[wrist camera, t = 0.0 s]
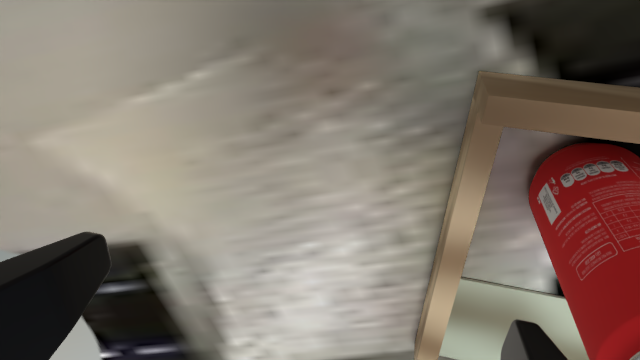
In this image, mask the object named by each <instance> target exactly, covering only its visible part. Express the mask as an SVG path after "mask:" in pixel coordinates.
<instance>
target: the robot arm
mask: <svg viewBox="0 0 640 360" xmlns="http://www.w3.org/2000/svg"><path fill="white" fill-rule="evenodd" d="M110 268H111V258H110V255H109V251H108V247H107V243H106V239H105V237H104V236H103V235H101V234H97V233H92V232H82V233H79V234H77V235H74V236H71V237H68V238H66V239H63V240H60V241H57V242H55V243H52V244H49V245H46V246H44V247H41V248H38V249H35V250H33V251H30V252H27V253H24V254H22V255H19V256H16V257H13V258H11V259H8V260H5V261H2V262H0V360H49V359H50V358H51V356H52V355H53V354H54V352H55V351H56V350H57V348H58V347H59V346H60V345H61V343H62V342H63V341H64V340H65V338H66V337H67V335H68V334H69V333H70V331H71V330H72V328H73V327H74V326H75V324H76V323H77V321H78V320H79V318H80V317H81V315H82V314H83V312H84V310H85V309H86V307H87V306H88V304H89V303H90V301H91V300H92V298H93V296H94V295H95V293H96V292H97V290H98V289H99V287H100V285H101V284H102V282H103V281H104V279H105V278H106V276H107V274H108V273H109V271H110ZM501 360H568V359H567V358H566V357H565V355H564V354H563V353H562V352H561V351H560V350H559V348H558V347H557V346H556V345H555V344H554V342H553V341H552V340H551V339H550V338H549V337H548V335H547V334H546V333H545V332H544V331H543V329H542V328H541V327H540V326H539V325H538V324H536V323H534V322H529V321H524V320H519V319H516V320H514V321H513V322H512V323H511V325H510V328H509V330H508V333H507V335H506V338H505V341H504V343H503V346H502V349H501Z"/></svg>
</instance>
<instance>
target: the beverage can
mask: <svg viewBox="0 0 640 360" xmlns="http://www.w3.org/2000/svg"><path fill="white" fill-rule="evenodd" d="M529 204H530V207H531V210H532V213H533V215H534V218H535V221H536V223H537V226H538V228H539V231H540V233H541V236H542V239H543V241H544V244H545V246H546V249H547V252H548V254H549V257H550V259H551V262H552V264H553V267H554V270H555V272H556V275H557V277H558V280H559V283H560V285H561V288H562V290H563V293H564V295H565V298H566V301H567V303H568V306H569V308H570V311H571V314H572V316H573V319H574V321H575V324H576V326H577V329H578V332H579V334H580V337H581V339H582V342H583V345H584V347H585V350H586V352H587V355H588V358H589V360H640V158H639V157H638V156H637V155H636V154H634V153H633V152H631V151H629V150H627V149H625V148H622V147H619V146H615V145H610V144H601V143H595V142H583V143H576V144H572V145H569V146H566V147H563V148H561V149H559V150H557V151H555V152H554V153H552V154H551V155H550V156H548V157H547V158H546V159H545V160H544V161H543V162H542V163H541V165H540V166H539V168H538V169H537V171H536V173H535V176H534V178H533V180H532V183H531V186H530V190H529Z"/></svg>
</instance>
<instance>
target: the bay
mask: <svg viewBox="0 0 640 360" xmlns="http://www.w3.org/2000/svg"><path fill="white" fill-rule="evenodd" d="M503 127H510V128H518V129H526V130H534V131H542V132H550V133H558V134H566V135H574V136H582V137H589V138H597V139H605V140H613V141H621V142H629V143H637V144H640V88H638V87H629V86H619V85H609V84H600V83H590V82H580V81H571V80H561V79H551V78H542V77H532V76H522V75H513V74H503V73H494V72H484V71H479V73H478V77H477V82H476V86H475V90H474V94H473V99H472V103H471V107H470V111H469V115H468V120H467V124H466V128H465V132H464V137H463V141H462V145H461V149H460V154H459V158H458V162H457V166H456V171H455V175H454V179H453V183H452V187H451V192H450V196H449V200H448V204H447V209H446V213H445V217H444V221H443V226H442V230H441V234H440V238H439V243H438V247H437V251H436V255H435V259H434V264H433V268H432V272H431V276H430V281H429V285H428V289H427V293H426V298H425V302H424V306H423V310H422V315H421V319H420V323H419V327H418V331H417V336H416V340H415V352H414V360H438V356H439V355H440V356H444V357H449V358H453V359H458V360H501V349H502V346H503V343H504V341H505V338H506V335H507V333H508V330H509V328H510V325H511V323H512V322H513V321H514V320H516V319H519V320H524V321H529V322H534V323H536V324H538V325H539V326H540V327H541V328H542V329H543V331H544V332H545V333H546V334H547V335H548V337H549V338H550V339H551V340H552V341H553V342H554V344H555V345H556V346H557V347H558V348H559V350H560V351H561V352H562V353H563V354H564V355H565V357H566V358H567V359H568V360H589V358H588V355H587V352H586V350H585V347H584V345H583V342H582V339H581V337H580V334H579V332H578V329H577V326H576V324H575V321H574V319H573V316H572V314H571V311H570V308H569V306H568V303H567V301H566V298H565V297H563V296H557V295H552V294H547V293H542V292H537V291H531V290H526V289H521V288H516V287H510V286H505V285H500V284H495V283H489V282H484V281H479V280H474V279H468V278H463V277H461V275H462V272H463V268H464V264H465V261H466V257H467V254H468V250H469V247H470V243H471V240H472V236H473V233H474V229H475V226H476V222H477V219H478V215H479V212H480V208H481V205H482V201H483V197H484V194H485V190H486V187H487V183H488V180H489V176H490V173H491V169H492V166H493V162H494V159H495V155H496V152H497V148H498V145H499V141H500V138H501V134H502V130H503Z"/></svg>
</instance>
